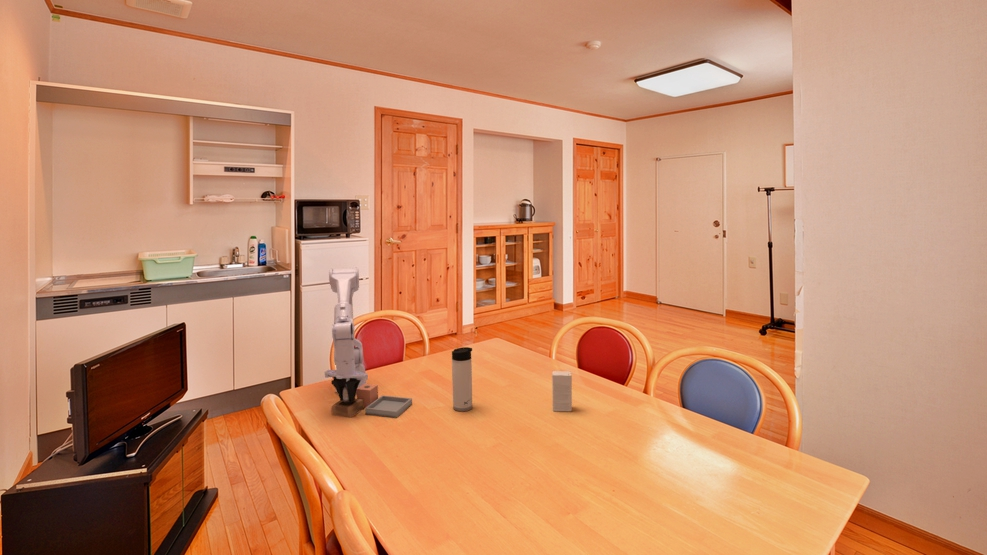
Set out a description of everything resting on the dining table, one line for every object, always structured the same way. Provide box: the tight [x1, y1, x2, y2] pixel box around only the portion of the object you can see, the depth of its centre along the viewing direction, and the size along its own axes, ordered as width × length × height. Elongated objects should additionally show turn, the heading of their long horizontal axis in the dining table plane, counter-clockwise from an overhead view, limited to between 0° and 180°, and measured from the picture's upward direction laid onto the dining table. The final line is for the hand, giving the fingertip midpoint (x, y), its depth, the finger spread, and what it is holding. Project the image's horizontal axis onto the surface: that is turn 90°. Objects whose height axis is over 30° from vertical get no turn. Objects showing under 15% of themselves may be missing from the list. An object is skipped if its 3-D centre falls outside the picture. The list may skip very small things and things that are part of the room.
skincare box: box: [551, 370, 573, 412], centre depth 152 cm, size 6×4×12 cm
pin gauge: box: [342, 386, 352, 406], centre depth 153 cm, size 3×3×7 cm
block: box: [356, 383, 379, 408], centre depth 159 cm, size 5×5×6 cm
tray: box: [364, 394, 413, 419], centre depth 155 cm, size 11×11×2 cm
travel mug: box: [451, 346, 473, 412], centre depth 154 cm, size 6×7×20 cm
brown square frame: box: [331, 398, 365, 418], centre depth 153 cm, size 7×7×3 cm
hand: (347, 400), depth 153 cm, fingers closed on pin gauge, 3 cm apart
